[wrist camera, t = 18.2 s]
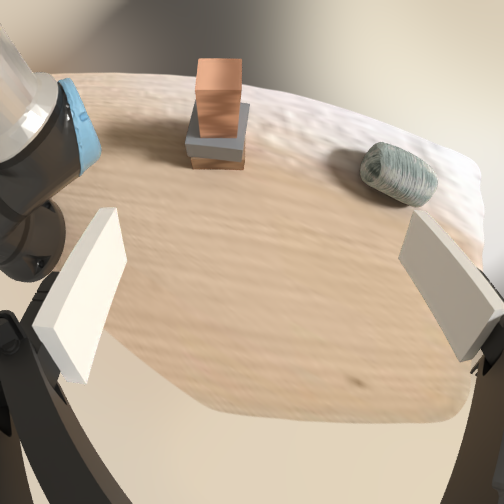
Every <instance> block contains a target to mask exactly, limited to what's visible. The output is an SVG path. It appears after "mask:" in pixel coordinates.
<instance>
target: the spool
mask: <svg viewBox="0 0 504 504" xmlns="http://www.w3.org/2000/svg"><path fill="white" fill-rule="evenodd" d="M360 176H361V179H362V181H363V182H365V183H366V184H367V185H368V186H370V187H373V188H375V189H376V190H378V191H381V192H383V193H384V194H386V195H388V196H390V197H392V198H394V199H396V200H398V201H400V202H402V203H405V204H407V205H409V206H412V207H421V206H423V205H424V204H425V203H426V202H427V201H429V199H430V198H431V197H432V195H433V194H434V192H435V191H436V189H437V186H438V177H437V175H436V173H435V172H434V170H433V169H432V168H431V167H430V166H429V165H428V164H427V163H426V162H424V161H423V160H421V159H420V158H418V157H417V156H415V155H413V154H411V153H410V152H407V151H405V150H403V149H401V148H399V147H396V146H393V145H390V144H387V143H383V142H379V143H376V144H375V145H373V146H372V147H371V148H370V149H369V151H368V152H367V153H366V155H365V156H364V159H363V161H362V163H361V167H360Z"/></svg>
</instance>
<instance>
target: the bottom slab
mask: <svg viewBox="0 0 504 504" xmlns="http://www.w3.org/2000/svg"><path fill="white" fill-rule="evenodd" d="M191 163H192V167H193V169H224V170H244V163H245V141H244V147H243V154H242V161H241V162H234V161H226V160H218V159H209V158H199V157H191Z"/></svg>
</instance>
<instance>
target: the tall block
mask: <svg viewBox="0 0 504 504" xmlns="http://www.w3.org/2000/svg"><path fill="white" fill-rule="evenodd" d="M241 91H242V59H199V61H198V69H197V77H196V86H195V94H196V103H197V112H198V121H199V130H200V138H237V132H238V121H239V111H240V101H241Z"/></svg>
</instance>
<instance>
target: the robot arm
mask: <svg viewBox="0 0 504 504" xmlns="http://www.w3.org/2000/svg"><path fill="white" fill-rule="evenodd" d="M100 155H101V145H100V142H99V139H98V137H97V134H96V132H95V129H94V127H93V125H92V123H91V120H90V118H89V116H88V115H87V112H86V110H85V107H84V104H83V102H82V100H81V98H80V96H79V93H78V91H77V89H76V87H75V85H74V83H73V81H72V80H71V79H70V78H65V79H63V80H59V81H58V82H57V81H56V80H55V78H54V77H53V76H51V75H50V74H48V73H45V72H36V73H32V71H31V69H30V68H29V66H28V65H27V63H26V62H25V60H24V59H23V58H22V56H21V55H20V53H19V52H18V50H17V49H16V47H15V46H14V44H13V43H12V41H11V40H10V38H9V36H8V35H7V33H6V32H5V30H4V29H3V27H2V25H1V24H0V270H1V271H2V272H4V273H5V274H6V275H7V276H8V277H10V278H12V279H14V280H16V281H21V282H35V281H38V280H40V279H42V278H44V277H45V276H46V275H48V274H49V273H50V272H51V271H52V269H53V268H54V267H55V265H56V264H57V262H58V260H59V258H60V256H61V254H62V251H63V247H64V243H65V232H66V230H65V221H64V217H63V214H62V212H61V210H60V208H59V207H58V205H57V204H56V203H55V202H54V201H53V200H51V199H50V198H51V197H52V196H54V195H55V194H56V193H58V192H59V191H60V190H61V189H63V188H64V187H65V186H67V185H68V184H69V183H71V182H72V181H74V180H75V179H76V178H78V177H80V176H81V175H82V174H83V172H84V171H85V170H87V169H88V168H89V167H90V166H92V165H93V164H94V163H95V162H96V161H97V160H98V159H99V158H100ZM398 259H399V260H400V262H401V263H402V265H403V266H404V268H405V269H406V271H407V273H408V274H409V276H410V277H411V279H412V280H413V282H414V284H415V285H416V287H417V288H418V290H419V292H420V293H421V295H422V297H423V298H424V300H425V302H426V303H427V305H428V307H429V308H430V310H431V312H432V313H433V315H434V317H435V319H436V320H437V322H438V324H439V326H440V327H441V329H442V331H443V333H444V334H445V336H446V338H447V340H448V342H449V344H450V345H451V347H452V349H453V351H454V353H455V355H456V357H457V359H458V361H459V362H463V361H467V360H470V359H473V358H474V356H475V355H476V354H477V352H478V351H479V350H480V348H481V350H482V352H483V355H482V357H481V358H480V359H479V361H478V362H477V363H476V365H475V366H474V367H473V368H472V370H471V372H470V373H471V374H472V373H473V372H474V371H475V370H476V369H478V372H477V373H476V374H475V375H476V376H477V379H476V384H475V390H474V395H473V399H472V404H471V409H470V413H469V417H468V421H467V425H466V429H465V433H464V436H463V440H462V443H461V447H460V450H459V454H458V457H457V460H456V463H455V466H454V469H453V472H452V474H451V477H450V480H449V483H448V485H447V488H446V491H445V493H444V496H443V498H442V500H441V503H440V504H504V299H503V297H502V296H501V295H500V294H499V292H498V291H497V290H496V289H495V287H494V286H493V285H492V283H490V281H489V279H488V278H487V277H486V276H485V274H484V273H483V272H482V271H481V270H479V269H478V268H477V267H476V266H475V265H474V264H473V263H472V261H471V260H470V259H469V258H468V257H467V255H466V254H465V253H464V252H463V251H462V250H461V248H460V247H459V246H458V245H457V244H456V243H455V242H454V240H453V239H452V238H451V237H450V236H449V235H448V234H447V233H446V232H445V230H444V229H443V228H442V227H441V226H440V225H439V224H438V223H437V222H436V221H435V220H434V219H433V218H432V217H431V215H430V214H429V213H428V212H427V211H419V210H413V214H412V217H411V220H410V224H409V227H408V230H407V233H406V236H405V239H404V242H403V245H402V248H401V251H400V254H399V257H398ZM126 262H127V258H126V253H125V249H124V244H123V239H122V234H121V229H120V224H119V219H118V214H117V208H116V207H109V208H100V209H99V210H98V212H97V213H96V215H95V216H94V218H93V219H92V221H91V222H90V224H89V225H88V227H87V228H86V230H85V231H84V233H83V235H82V236H81V238H80V239H79V241H78V243H77V244H76V246H75V247H74V249H73V251H72V252H71V254H70V256H69V257H68V259H67V261H66V262H65V264H64V266H63V268H62V269H61V271H60V272H52V273H50V274H49V275H48V276H47V277H46V278H45V279H44V280H43V281H42V283H41V284H40V286H39V288H38V290H37V293H35V295H34V297H33V299H32V301H31V302H30V304H29V306H28V308H27V310H26V312H25V313H24V316H23V317H22V319H21V321H20V323H19V322H18V320H17V318H16V316H15V314H14V313H13V312H11V311H9V310H2V311H0V504H34V503H33V500H32V496H31V492H30V488H29V484H28V481H27V476H26V472H25V467H24V462H23V457H22V451H21V446H20V441H21V443H22V446H23V448H24V451H25V453H26V456H27V458H28V460H29V462H30V465H31V467H32V469H33V471H34V474H35V476H36V478H37V480H38V482H39V484H40V486H41V488H42V490H43V492H44V494H45V495H46V498H47V499H48V501H49V503H50V504H132V502H131V501H130V500H129V498H128V497H127V496H126V494H125V493H124V492H123V490H122V489H121V488H120V486H119V485H118V483H117V482H116V481H115V479H114V478H113V476H112V475H111V473H110V472H109V470H108V469H107V467H106V466H105V464H104V463H103V461H102V460H101V458H100V457H99V455H98V454H97V452H96V450H95V449H94V447H93V445H92V444H91V442H90V441H89V439H88V437H87V435H86V434H85V432H84V430H83V429H82V427H81V425H80V423H79V421H78V419H77V418H76V416H75V414H74V412H73V410H72V408H71V406H70V405H69V402H68V400H67V398H66V397H65V394H64V392H63V390H62V388H61V386H60V385H59V383H58V382H57V380H58V377H59V374H60V372H61V374H62V375H63V377H64V378H65V379H66V381H67V382H73V383H80V384H87V381H88V377H89V373H90V370H91V366H92V363H93V359H94V356H95V353H96V349H97V346H98V342H99V339H100V336H101V333H102V330H103V327H104V324H105V321H106V318H107V315H108V312H109V309H110V306H111V303H112V300H113V297H114V294H115V292H116V289H117V286H118V283H119V281H120V278H121V275H122V273H123V270H124V267H125V265H126Z"/></svg>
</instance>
